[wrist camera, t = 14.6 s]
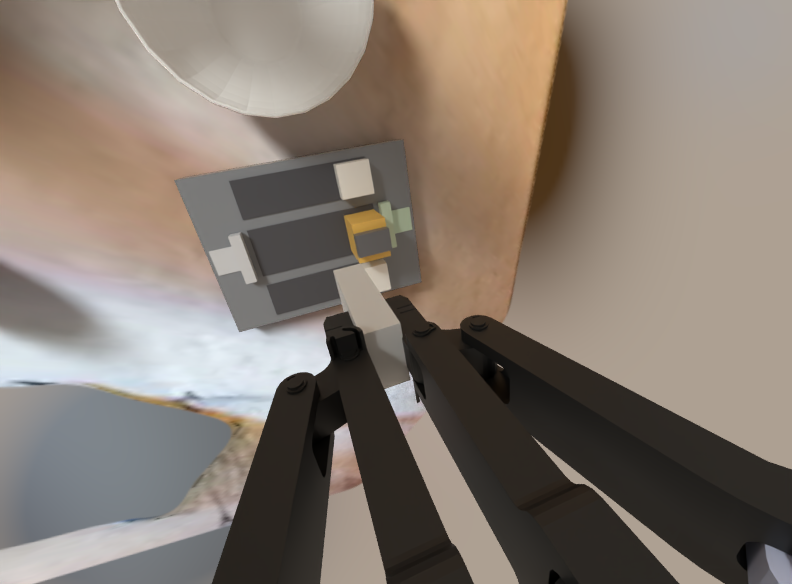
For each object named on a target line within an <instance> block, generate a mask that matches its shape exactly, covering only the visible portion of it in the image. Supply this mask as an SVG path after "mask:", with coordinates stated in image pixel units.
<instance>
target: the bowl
mask: <svg viewBox="0 0 792 584" xmlns="http://www.w3.org/2000/svg"><path fill="white" fill-rule="evenodd" d="M115 2H116V4H117V6H118V8H119V11H120V12H121V14H122V15H123V17H124V18H125V19H126V21H127V22H128V24H129V25H130V27H131V28H132V30H133V31H134V32H135V34H136V35H137V37H138V38H139V40H140V41H141V42H142V44H143V45H144V47H145V48H146V50H147V51H148V52H149V53H150V54H151V55H152V56H153V57H154V58H155V59H156V60H157V61H158V62H159V63H160V64H161V65H162V66H163V67H164V68H165V69H166V70H168V71H169V72H170V73H171V74H172V75H173V76H174V77H175V78H176V79H177V80H178V81H179V82H180V83H182V84H183V85H185V86H186V87H188V88H190V89H191V90H193V91H194V92H196V93H197V94H199V95H200V96H202V97H203V98H205V99H206V100H208V101H210V102H211V103H213V104H216V105H219V106H221V107H224V108H227V109H230V110H232V111H235V112H238V113H241V114H244V115H249V116H260V117H270V118H280V117H285V116H291V115H296V114H302V113H306V112H308V111H309V110H311V109H313V108H315V107H317V106H319V105H321V104H322V103H324V102H326V101H328V100H330V99H331V98H332V97H333V96H334V95H335V94H336V93H337V92H338V91H339V90H340V89H341V88H342V87H343V86H344V85H345V84H346V83H347V82H348V81H349V80H350V78H351V76H352V74H353V73H354V71H355V69H356V67H357V65H358V64H359V62H360V60H361V58H362V56H363V54H364V53H365V49H366V46H367V42H368V38H369V34H370V30H371V26H372V22H373V12H374V0H115Z"/></svg>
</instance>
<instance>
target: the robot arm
mask: <svg viewBox="0 0 792 584" xmlns="http://www.w3.org/2000/svg"><path fill="white" fill-rule="evenodd" d="M333 272H334V276H335V280H336V284H337V288H338V291H339V295H340V299H341V303H342V307H343V311H344V312H343V313H340V314H337V315H333V316H330V317H326V320H325V322H324V324H323V325H324V329H325V333H326V337H327V338H326V344H327V347H328V350H329V353H330V357H331V362H330V364H329V365H328V367H327V368H326V369H325V370H323V371H322V372H321V373H319V374H317V375H316V376H313V374H310V373H307V372H302V373H297V374H293V375H291V376H289V377H287V378H286V379H284V380H283V381H282V382H281V383H280V384H279V386H278V388H277V389H276V392H275V395H274V398H273V401H272V404H271V407H270V410H269V413H268V416H267V419H266V422H265V425H264V428H263V431H262V435H261V438H260V441H259V444H258V447H257V450H256V453H255V456H254V459H253V462H252V465H251V468H250V471H249V474H248V477H247V480H246V483H245V486H244V489H243V492H242V495H241V498H240V501H239V504H238V507H237V510H236V513H235V516H234V519H233V522H232V525H231V528H230V531H229V534H228V537H227V540H226V543H225V546H224V549H223V552H222V555H221V558H220V561H219V564H218V567H217V570H216V573H215V576H214V579H213V582H212V584H320V578H321V568H322V558H323V547H324V537H325V528H326V517H327V507H328V498H329V488H330V477H331V467H332V457H333V447H334V437H335V436H334V431H335V430H337V429H338V428H340V427H341V426H343V425H344V424H346V423H348V427H349V431H350V435H351V439H352V443H353V447H354V451H355V455H356V459H357V463H358V466H359V470H360V474H361V478H362V482H363V486H364V490H365V494H366V498H367V502H368V506H369V510H370V514H371V518H372V522H373V526H374V530H375V534H376V538H377V541H378V546H379V549H380V553H381V557H382V561H383V565H384V569H385V574H386V581H387V584H474V583H473V581H472V579H471V576H470V574H469V572H468V570H467V567H466V565H465V563H464V561H463V559H462V557H461V555H460V553H459V551H458V549H457V548H456V546H455V545H454V544H452V543H451V541H450V539H449V537H448V535H447V533H446V531H445V528H444V526H443V524H442V521H441V519H440V517H439V514H438V512H437V510H436V507H435V505H434V503H433V500H432V498H431V496H430V494H429V491H428V489H427V487H426V484H425V482H424V480H423V477H422V475H421V473H420V470H419V468H418V466H417V464H416V461H415V459H414V457H413V454H412V452H411V450H410V447H409V445H408V443H407V440H406V438H405V436H404V433H403V431H402V429H401V427H400V424H399V422H398V420H397V417H396V415H395V413H394V410H393V408H392V406H391V403H390V401H389V399H388V396H387V394H386V392H385V390H384V389H386V388H389V387H391V386H394V385H397V384H400V383H403V382H406V381H409V380H410V376H409V372H410V373H411V375H412V377H413V382H414V388H415V394H416V400H417V403H418V402H420V399H421V401H422V402H423V404H424V406H425V408H426V410H427V412H428V413H429V415H430V417H431V419H432V421H433V422H434V424H435V426H436V428H437V430H438V432H439V434H440V435H441V437H442V439H443V441H444V443H445V445H446V446H447V448H448V450H449V452H450V454H451V456H452V457H453V459H454V461H455V463H456V465H457V467H458V468H459V470H460V472H461V474H462V476H463V477H464V479H465V481H466V483H467V485H468V487H469V488H470V490H471V492H472V494H473V496H474V498H475V500H476V501H477V503H478V505H479V507H480V509H481V510H482V512H483V514H484V516H485V518H486V520H487V522H488V523H489V525H490V527H491V529H492V531H493V533H494V534H495V536H496V538H497V540H498V542H499V544H500V545H501V547H502V549H503V551H504V553H505V555H506V556H507V558H508V560H509V562H510V564H511V566H512V568H513V569H514V572H515V574H516V576H517V579H518V582H519V584H679V583H678V582H677V581H676V580H675V579H674V577H673V576H672V575H671V574H670V573H669V572H668V571H667V570H666V568H665V567H664V566H663V565H662V564H661V563H660V562H659V561H658V560H657V558H656V557H655V556H654V555H653V554H652V553H651V552H650V551H649V550H648V548H647V547H646V546H645V545H644V544H643V543H642V542H641V541H640V540H639V539H638V537H637V536H636V535H635V534H634V533H633V532H632V531H631V529H630V528H629V527H628V526H627V525H626V524H625V523H624V522H623V521H622V520H621V518H620V517H619V516H618V515H617V514H616V513H615V512H614V511H613V509H612V508H611V507H610V506H609V505H608V504H607V503H606V502H605V501H604V500H603V498H602V497H601V496H599V495H598V494H597V493H596V492H595V491H594V490H593V489H592V488H590V487H589V486H587V485H585V484H574V483H573V482H571V481H570V480H569V479H568V478H567V477H566V476H565V475H564V474H563V473H562V471H561V470H560V469H559V468H558V467H557V465H556V464H555V463H554V462H553V461H552V460H551V458H550V457H549V456H548V455H547V454H546V453H545V451H544V450H543V449H542V448H541V447H540V445H539V444H538V443H537V442H536V441H535V440H534V438H535V439H536V440H538V441H539V442H540V443H541V444H543V445H544V446H545V447H546V448H548V449H549V450H550V451H552V452H553V453H554V454H555V455H557V456H558V457H559V458H561V459H562V460H563V461H564V462H565V463H567V464H568V465H569V466H571V467H572V468H573V469H574V470H576V471H577V472H578V473H579V474H581V475H582V476H583V477H584V478H586V479H587V480H588V481H590V482H591V483H592V484H593V485H595V486H596V487H597V488H598V489H600V490H601V491H602V492H604V493H605V494H606V495H607V496H609V497H610V498H611V499H612V500H614V501H615V502H616V503H617V504H619V505H620V506H621V507H622V508H624V509H625V510H626V511H627V512H629V513H630V514H631V515H633V516H634V517H635V518H636V519H637V520H639V521H640V522H641V523H643V524H644V525H645V526H647V527H648V528H649V529H650V530H651V531H653V532H654V533H655V534H657V535H658V536H659V537H660V538H662V539H663V540H664V541H665V542H667V543H668V544H669V545H670V546H672V547H673V548H674V549H676V550H677V551H678V552H680V553H681V554H682V555H684V556H685V557H687V558H688V559H689V560H690V561H692V562H693V563H695V564H696V565H697V566H699V567H700V568H701V569H703V570H704V571H706V572H708V573H709V574H711V575H712V576H714V577H715V578H717V579H718V580H720V581H721V582H723V583H725V584H792V470H791V469H788V468H786V467H783V466H779V465H777V464H774V463H770V462H768V461H766V460H764V459H762V458H760V457H758V456H756V455H754V454H752V453H750V452H748V451H746V450H744V449H743V448H740V447H739V446H737V445H735V444H733V443H731V442H729V441H727V440H725V439H723V438H721V437H719V436H717V435H715V434H714V433H712V432H710V431H708V430H706V429H704V428H702V427H700V426H698V425H696V424H694V423H693V422H691V421H689V420H687V419H685V418H683V417H681V416H679V415H677V414H675V413H673V412H671V411H669V410H668V409H665V408H663V407H662V406H660V405H658V404H656V403H654V402H652V401H650V400H648V399H646V398H644V397H642V396H640V395H639V394H637V393H635V392H633V391H631V390H629V389H627V388H625V387H623V386H621V385H619V384H617V383H616V382H614V381H612V380H610V379H608V378H606V377H604V376H602V375H600V374H598V373H596V372H594V371H592V370H590V369H589V368H587V367H585V366H583V365H581V364H579V363H577V362H575V361H573V360H571V359H569V358H567V357H565V356H564V355H562V354H560V353H558V352H556V351H554V350H552V349H550V348H548V347H546V346H544V345H542V344H540V343H539V342H537V341H535V340H532V339H531V338H529V337H527V336H525V335H523V334H521V333H519V332H517V331H515V330H513V329H511V328H510V327H508V326H506V325H504V324H502V323H500V322H498V321H496V320H494V319H492V318H490V317H487V316H482V315H474V316H470V317H467V318H465V319H464V320H463V321H462V322H461V324H460V328H461V329H452V330H441V329H440V328H439V326H438V325H436V324H435V323H432V322H427V321H426V320H425V319H424V318H423V316H422V315H421V314H420V313H419V311H418V310H417V309H416V308H415V307H414V305H412V303H411V302H410V300H409V299H408V298H406V297H403V296H401V295H399V296H395V297H392V298H388V299H384V298H383V296H382V295H381V293H380V292H379V290H378V289H377V287H376V286H375V284H374V283H373V281H372V280H371V278H370V277H369V275H368V274H367V272H366V271H365V269H364V268H363V266H362V265H361V263H360V264H356V265H352V266H349V267H345V268H341V269H337V270H333ZM497 364H499V365H501V366H502V367H503V368H504V369H503V368H501V367H499V366H498V365H497ZM419 397H420V399H419ZM532 436H533V437H534V438H533V437H532Z"/></svg>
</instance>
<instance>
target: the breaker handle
mask: <svg viewBox="0 0 792 584" xmlns="http://www.w3.org/2000/svg"><path fill="white" fill-rule="evenodd" d="M344 219H345V224H346V229H347V233H348V238H349V242H350V247H351V251H352V252H353V254H354V255H355V257H356V259H357V260H358V262H359V263H365V262H369V261H373V260H377V259H380V258H384V257H388V256H391V252H390V251H391V250H392V244H391V238H390V231H389V228H388V227H387V226H386V222H385V217H383V216H382V215H381V214H379V213H378V212H376V211H375V210H374V209H372V210H368V211H363V212H358V213H354V214H349V215H345V216H344Z"/></svg>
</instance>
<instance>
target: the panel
mask: <svg viewBox="0 0 792 584" xmlns="http://www.w3.org/2000/svg"><path fill="white" fill-rule="evenodd" d="M174 181H175V183H176V185H177V188H178V190H179V192H180V195H181V197H182V199H183V202H184V204H185V206H186V209H187V211H188V213H189V216H190V218H191V220H192V223H193V225H194V227H195V230H196V232H197V234H198V237H199V239H200V241H201V244H202V246H203V248H204V251H205V253H206V255H207V258H208V260H209V262H210V265H211V267H212V269H213V272H214V274H215V276H216V278H217V281H218V283H219V285H220V288H221V290H222V292H223V295H224V297H225V299H226V302H227V304H228V306H229V309H230V311H231V313H232V316H233V318H234V320H235V323H236V325H237V327H238V330H239V332H242V331H246V330H249V329H253V328H257V327H260V326H264V325H267V324H271V323H275V322H278V321H282V320H286V319H289V318H293V317H297V316H300V315H304V314H307V313H311V312H315V311H318V310H322V309H326V308H329V307H333V306H336V305H340V304H342V303H341V299H340V295H339V291H338V288H337V284H336V280H335V276H334V272H333V270H337V269H341V268H345V267H349V266H352V265H356V264H360V263H359V262H358V260H357V259H356V257H355V255H354V254H353V252H352V251H351V247H350V242H349V238H348V233H347V229H346V224H345V219H344V216H345V215H349V214H354V213H358V212H363V211H368V210H372V209H374V210H375V211H376V212H378V213H379V214H381V215H382V216H383V217H385V222H386V226H387V227H388V228H389V231H390V238H391V244H392V250H391V251H390V252H391V256H388V257H384V258H380V259H377V260H373V261H369V262H365V263H361V265H362V266H363V268H364V269H365V271H366V272H367V274H368V275H369V277H370V278H371V280H372V281H373V283H374V284H375V286H376V287H377V289H378V290H379V292H380V293H384V292H387V291H391V290H395V289H398V288H402V287H405V286H409V285H413V284H416V283H420V282H421V274H420V267H419V259H418V251H417V243H416V235H415V227H414V219H413V212H412V204H411V196H410V188H409V180H408V172H407V164H406V156H405V149H404V141H403V140H391V141H385V142H380V143H374V144H368V145H363V146H357V147H352V148H346V149H340V150H335V151H329V152H323V153H318V154H312V155H307V156H301V157H295V158H290V159H284V160H278V161H273V162H267V163H262V164H256V165H250V166H245V167H239V168H234V169H228V170H222V171H217V172H211V173H205V174H200V175H194V176H189V177H183V178H180V179H177V180H174Z"/></svg>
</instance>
